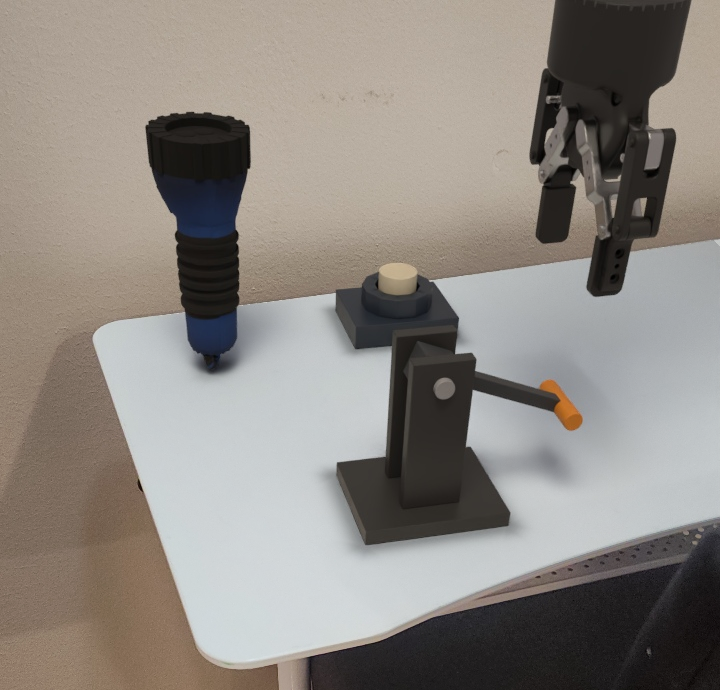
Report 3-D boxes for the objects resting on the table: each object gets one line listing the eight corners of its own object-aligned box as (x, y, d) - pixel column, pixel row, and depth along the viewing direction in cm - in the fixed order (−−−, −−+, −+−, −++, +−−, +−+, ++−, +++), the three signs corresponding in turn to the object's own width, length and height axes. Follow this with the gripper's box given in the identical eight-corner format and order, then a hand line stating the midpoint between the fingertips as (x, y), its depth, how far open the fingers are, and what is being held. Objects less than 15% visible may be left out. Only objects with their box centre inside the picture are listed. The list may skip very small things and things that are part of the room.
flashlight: (249, 339, 94) (238, 106, 80) (269, 380, 88) (261, 139, 74) (163, 349, 92) (137, 112, 78) (178, 392, 86) (153, 146, 72)
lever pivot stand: (469, 458, 80) (488, 307, 71) (508, 525, 74) (535, 369, 65) (336, 474, 78) (339, 320, 69) (365, 545, 72) (372, 385, 63)
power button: (410, 279, 96) (411, 261, 94) (421, 295, 93) (422, 277, 92) (373, 282, 95) (374, 264, 94) (383, 298, 92) (384, 280, 91)
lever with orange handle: (547, 403, 76) (563, 375, 75) (573, 438, 72) (590, 410, 71) (397, 361, 70) (410, 330, 69) (417, 397, 67) (432, 365, 65)
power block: (431, 302, 100) (435, 263, 98) (457, 339, 95) (461, 299, 92) (335, 310, 98) (335, 271, 96) (355, 349, 93) (356, 308, 90)
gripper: (752, 10, 52) (676, 308, 63) (629, -46, 61) (583, 220, 73) (620, 16, 50) (566, 320, 61) (516, -42, 60) (486, 229, 71)
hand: (575, 266), depth 67 cm, fingers open, 8 cm apart
